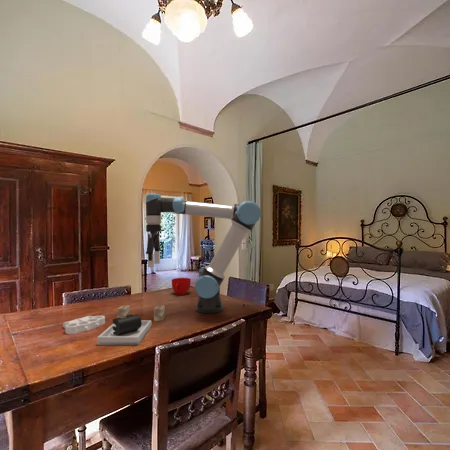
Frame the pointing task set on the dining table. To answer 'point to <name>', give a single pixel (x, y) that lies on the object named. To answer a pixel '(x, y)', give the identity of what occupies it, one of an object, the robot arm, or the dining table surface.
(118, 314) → the block
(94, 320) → the muffin pan
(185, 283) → the ceramic cup
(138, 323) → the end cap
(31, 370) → the dining table surface
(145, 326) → the tray
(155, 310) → the block
